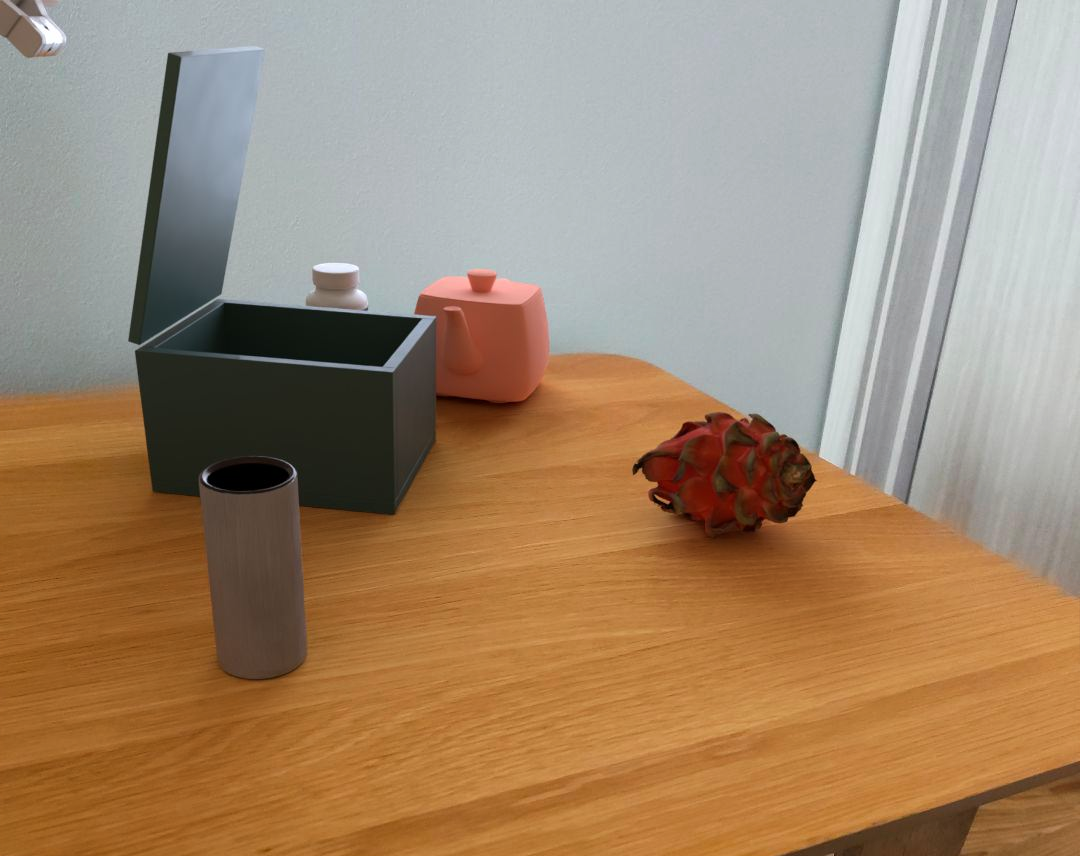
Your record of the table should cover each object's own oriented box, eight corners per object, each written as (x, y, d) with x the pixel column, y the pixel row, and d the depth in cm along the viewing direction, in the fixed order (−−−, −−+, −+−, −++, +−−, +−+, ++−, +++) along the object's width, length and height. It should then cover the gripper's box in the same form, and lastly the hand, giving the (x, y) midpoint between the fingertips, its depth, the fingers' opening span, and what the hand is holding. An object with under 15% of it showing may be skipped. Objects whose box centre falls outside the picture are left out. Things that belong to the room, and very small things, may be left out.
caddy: (435, 440, 83) (436, 316, 78) (394, 514, 71) (392, 372, 66) (228, 422, 84) (217, 298, 80) (152, 492, 72) (134, 350, 68)
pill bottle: (299, 381, 94) (293, 270, 90) (324, 363, 99) (319, 258, 94) (356, 388, 93) (352, 277, 89) (378, 370, 98) (376, 264, 93)
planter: (200, 653, 55) (180, 470, 50) (276, 623, 58) (264, 448, 53) (247, 691, 52) (229, 501, 47) (324, 658, 55) (315, 476, 50)
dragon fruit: (815, 565, 70) (637, 561, 74) (818, 458, 74) (649, 458, 78) (815, 500, 63) (617, 498, 66) (818, 385, 67) (632, 388, 70)
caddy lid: (265, 49, 72) (254, 45, 72) (181, 57, 59) (167, 52, 59) (221, 294, 80) (211, 290, 80) (139, 345, 67) (127, 341, 67)
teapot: (561, 369, 101) (567, 258, 96) (513, 433, 85) (518, 304, 80) (446, 355, 103) (447, 246, 98) (378, 415, 87) (376, 289, 83)
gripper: (-53, -85, 73) (102, 76, 77) (-298, -115, 55) (-80, 98, 59) (-5, -160, 71) (153, 11, 74) (-244, -217, 53) (-20, 12, 56)
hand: (49, 49), depth 66 cm, fingers closed
